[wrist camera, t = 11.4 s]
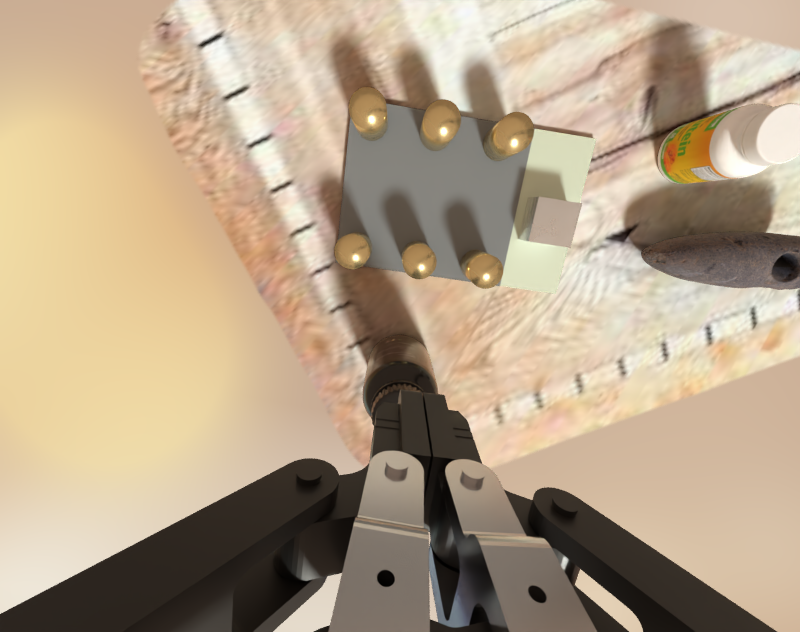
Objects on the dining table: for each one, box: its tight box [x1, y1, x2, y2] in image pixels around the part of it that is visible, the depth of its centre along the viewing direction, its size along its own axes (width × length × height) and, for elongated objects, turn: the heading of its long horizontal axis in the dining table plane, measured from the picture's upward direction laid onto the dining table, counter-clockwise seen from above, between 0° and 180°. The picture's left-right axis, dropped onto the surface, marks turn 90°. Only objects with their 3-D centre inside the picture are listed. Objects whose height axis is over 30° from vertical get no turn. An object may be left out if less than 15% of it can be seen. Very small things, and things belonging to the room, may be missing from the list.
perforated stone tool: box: [641, 232, 800, 290], centre depth 35 cm, size 15×5×7 cm, turn 85°
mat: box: [336, 104, 596, 294], centre depth 36 cm, size 23×15×1 cm, turn 82°
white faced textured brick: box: [518, 197, 582, 248], centre depth 35 cm, size 4×4×3 cm
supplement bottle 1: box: [363, 335, 438, 425], centre depth 35 cm, size 7×7×12 cm
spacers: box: [334, 87, 534, 289], centre depth 34 cm, size 15×14×5 cm
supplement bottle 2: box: [658, 103, 800, 184], centre depth 31 cm, size 5×5×10 cm
